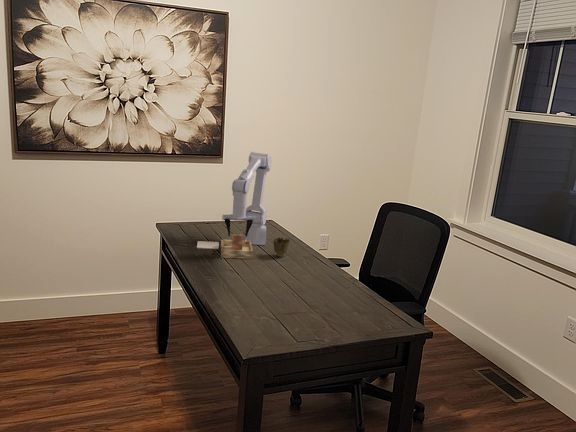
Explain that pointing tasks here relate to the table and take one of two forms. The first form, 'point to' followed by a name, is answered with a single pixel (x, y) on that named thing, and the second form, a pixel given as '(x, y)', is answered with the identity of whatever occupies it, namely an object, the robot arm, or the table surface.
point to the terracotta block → (237, 242)
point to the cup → (281, 246)
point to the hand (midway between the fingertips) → (237, 235)
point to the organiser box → (229, 253)
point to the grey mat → (208, 245)
